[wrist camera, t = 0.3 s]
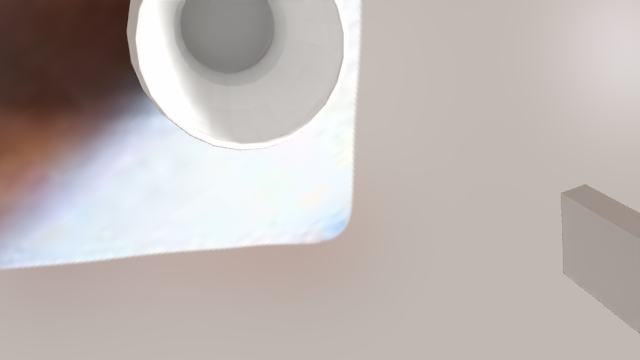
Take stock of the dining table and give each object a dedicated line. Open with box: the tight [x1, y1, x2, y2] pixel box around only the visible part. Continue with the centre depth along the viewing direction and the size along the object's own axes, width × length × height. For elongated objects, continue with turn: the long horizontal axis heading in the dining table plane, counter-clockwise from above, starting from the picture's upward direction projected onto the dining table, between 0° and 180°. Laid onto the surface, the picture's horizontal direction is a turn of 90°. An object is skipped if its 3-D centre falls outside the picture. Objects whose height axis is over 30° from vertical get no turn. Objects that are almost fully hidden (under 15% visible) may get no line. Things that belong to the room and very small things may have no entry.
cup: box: [127, 0, 348, 150], centre depth 29 cm, size 11×11×15 cm
